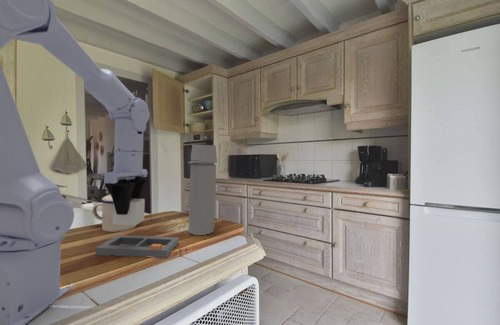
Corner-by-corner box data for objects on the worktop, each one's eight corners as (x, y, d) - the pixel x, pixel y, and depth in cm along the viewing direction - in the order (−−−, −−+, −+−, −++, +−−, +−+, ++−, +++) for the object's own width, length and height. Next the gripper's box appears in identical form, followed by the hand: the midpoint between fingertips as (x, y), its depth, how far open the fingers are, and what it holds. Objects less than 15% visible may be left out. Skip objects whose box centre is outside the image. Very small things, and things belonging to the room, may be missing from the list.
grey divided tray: (166, 262, 49) (166, 247, 49) (95, 259, 50) (95, 243, 50) (178, 247, 57) (178, 234, 57) (117, 244, 58) (117, 231, 58)
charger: (135, 225, 51) (136, 202, 51) (112, 224, 51) (113, 200, 51) (144, 220, 55) (144, 198, 55) (122, 219, 55) (123, 197, 55)
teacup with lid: (141, 224, 74) (142, 186, 73) (128, 233, 64) (129, 191, 64) (101, 223, 73) (102, 185, 72) (82, 233, 64) (83, 190, 63)
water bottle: (220, 233, 68) (223, 145, 67) (197, 240, 62) (200, 144, 61) (200, 226, 74) (203, 145, 73) (178, 231, 68) (180, 144, 67)
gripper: (130, 151, 46) (128, 221, 46) (159, 152, 60) (157, 205, 61) (93, 150, 46) (92, 219, 46) (131, 151, 60) (130, 204, 61)
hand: (127, 211), depth 53 cm, fingers closed on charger, 4 cm apart
